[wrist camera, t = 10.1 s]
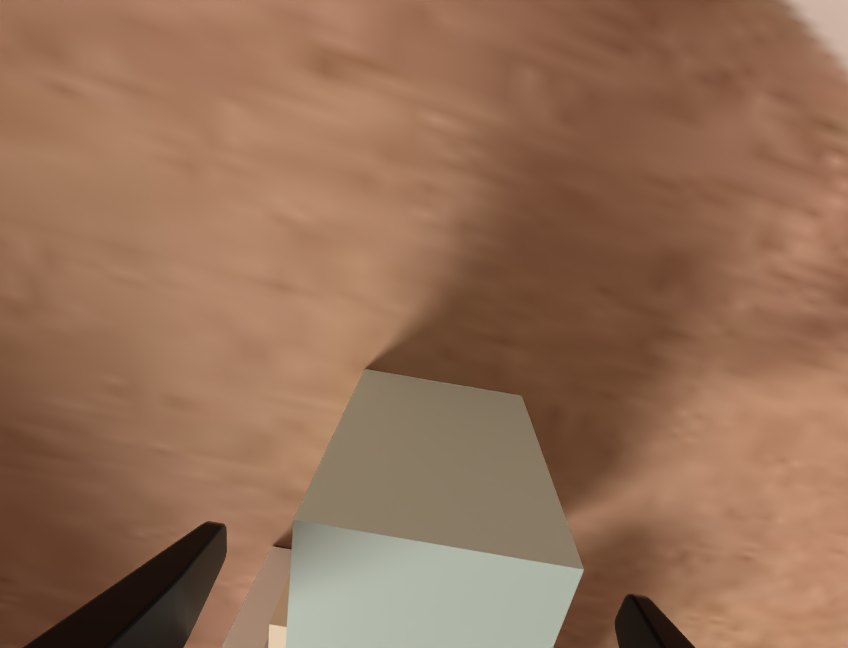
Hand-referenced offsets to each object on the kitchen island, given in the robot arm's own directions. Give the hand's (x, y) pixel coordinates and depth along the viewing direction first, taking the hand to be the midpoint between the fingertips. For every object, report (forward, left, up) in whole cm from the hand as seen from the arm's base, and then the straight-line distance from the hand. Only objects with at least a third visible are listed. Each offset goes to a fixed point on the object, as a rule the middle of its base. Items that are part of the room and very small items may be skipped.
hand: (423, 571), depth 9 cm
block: (0, 0, -5) cm, 5 cm away
